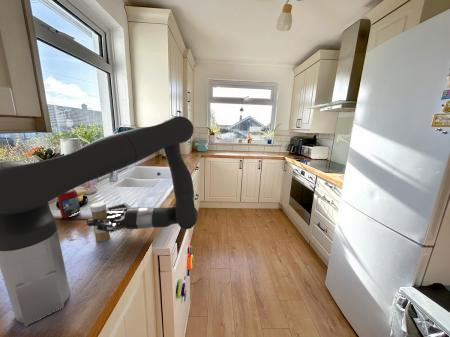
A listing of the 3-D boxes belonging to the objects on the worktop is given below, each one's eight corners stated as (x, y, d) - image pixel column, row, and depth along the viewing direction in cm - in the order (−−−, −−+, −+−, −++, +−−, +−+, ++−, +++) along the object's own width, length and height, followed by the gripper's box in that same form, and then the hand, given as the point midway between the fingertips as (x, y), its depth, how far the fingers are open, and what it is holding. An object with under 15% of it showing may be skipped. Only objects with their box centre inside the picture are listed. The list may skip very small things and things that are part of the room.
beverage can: (69, 220, 81) (63, 194, 78) (57, 217, 83) (52, 192, 80) (84, 213, 87) (80, 188, 85) (73, 211, 89) (69, 187, 86)
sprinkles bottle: (99, 243, 65) (93, 208, 62) (93, 239, 68) (87, 205, 65) (113, 237, 69) (108, 203, 66) (106, 233, 71) (101, 200, 68)
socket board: (140, 220, 81) (140, 211, 80) (109, 231, 73) (108, 220, 72) (126, 207, 94) (126, 199, 93) (98, 215, 86) (97, 206, 85)
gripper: (147, 200, 74) (101, 201, 72) (132, 217, 60) (76, 219, 59) (148, 217, 75) (104, 219, 74) (135, 238, 62) (80, 240, 60)
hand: (92, 219), depth 66 cm, fingers closed on sprinkles bottle, 4 cm apart
